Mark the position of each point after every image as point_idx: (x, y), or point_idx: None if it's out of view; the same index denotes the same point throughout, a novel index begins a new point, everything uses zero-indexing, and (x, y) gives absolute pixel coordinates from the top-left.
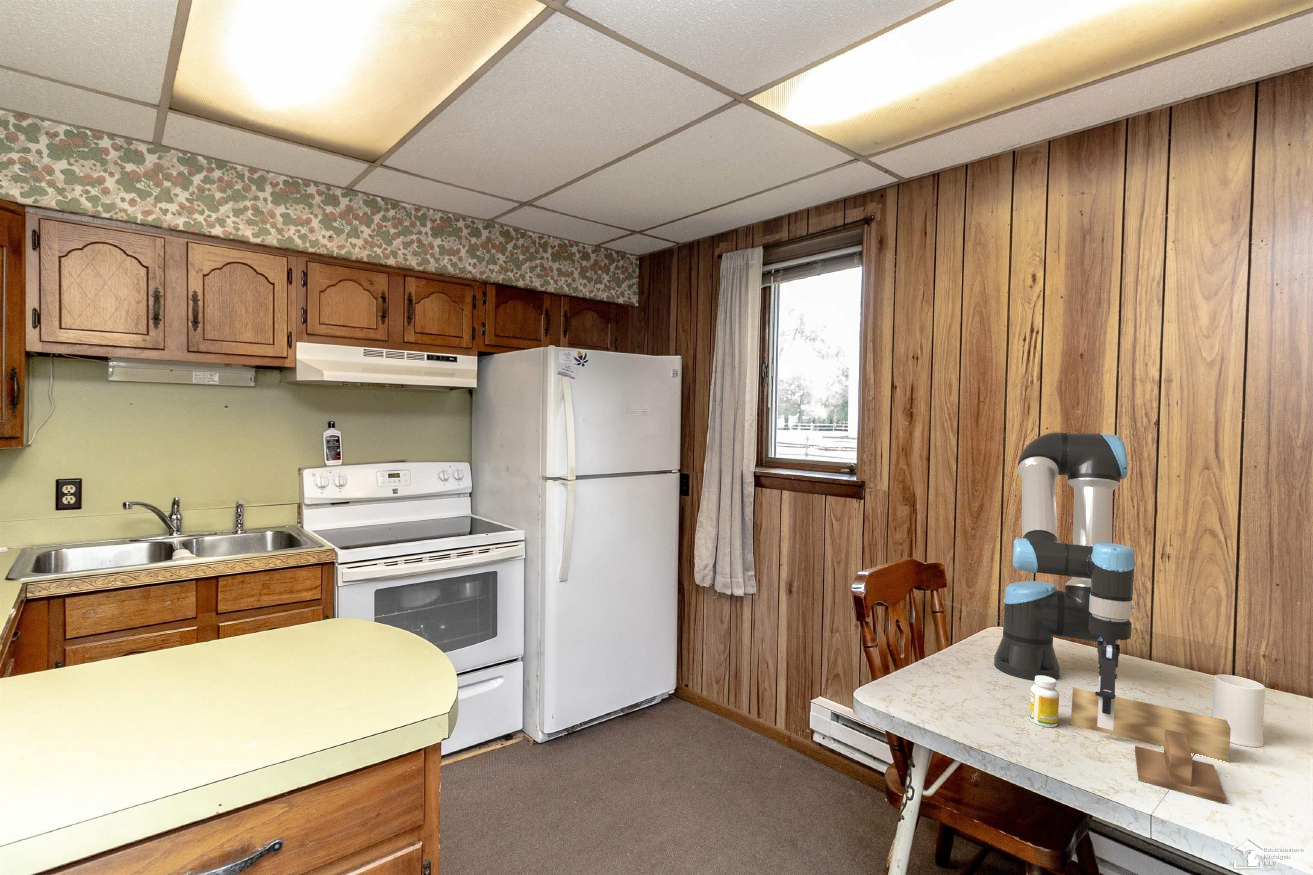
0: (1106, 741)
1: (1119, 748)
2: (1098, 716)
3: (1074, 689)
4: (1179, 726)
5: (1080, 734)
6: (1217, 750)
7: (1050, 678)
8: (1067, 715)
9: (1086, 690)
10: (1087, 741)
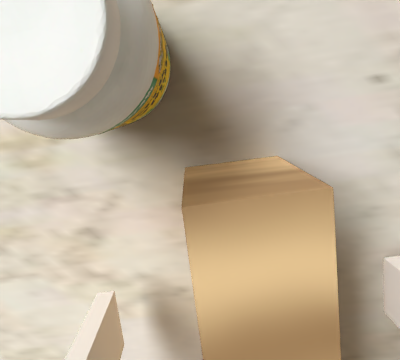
0: None
1: None
2: (82, 325)
3: (289, 203)
4: None
5: (104, 214)
6: None
7: (57, 53)
8: (288, 138)
9: (329, 267)
10: (52, 244)
